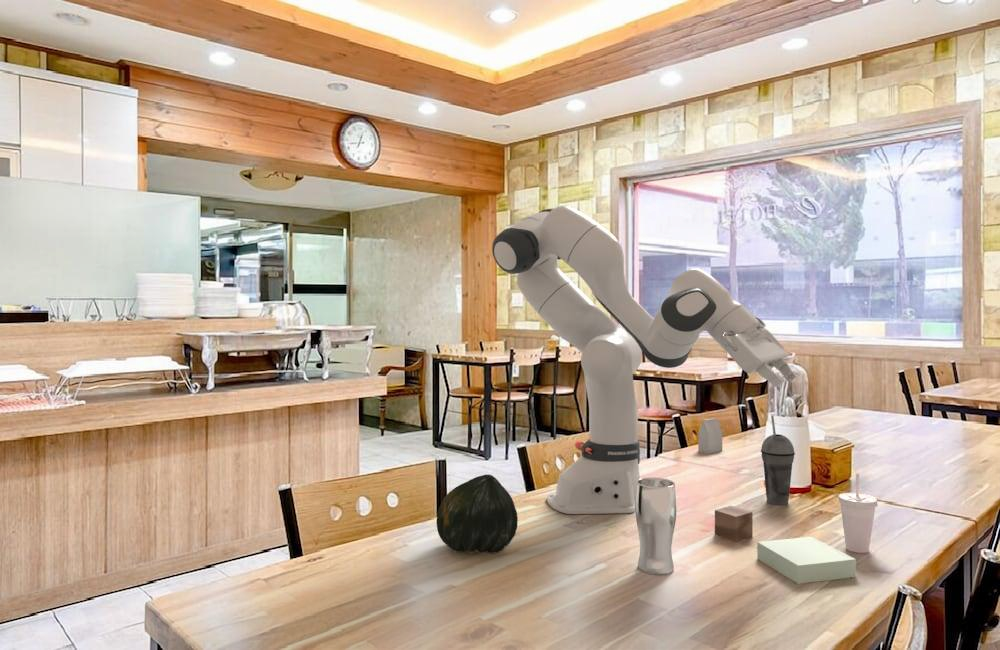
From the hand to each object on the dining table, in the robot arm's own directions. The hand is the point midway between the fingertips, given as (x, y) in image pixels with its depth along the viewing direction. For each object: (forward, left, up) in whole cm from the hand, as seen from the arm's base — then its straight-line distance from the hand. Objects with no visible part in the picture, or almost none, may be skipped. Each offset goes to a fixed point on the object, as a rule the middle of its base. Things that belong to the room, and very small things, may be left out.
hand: (787, 382), depth 129 cm
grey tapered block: (+25, +70, -30) cm, 81 cm away
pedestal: (-7, -15, -30) cm, 34 cm away
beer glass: (-32, -9, -30) cm, 45 cm away
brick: (-10, +2, -30) cm, 32 cm away
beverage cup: (+12, +19, -30) cm, 38 cm away
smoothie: (+8, -10, -30) cm, 33 cm away
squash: (-60, +8, -30) cm, 68 cm away
